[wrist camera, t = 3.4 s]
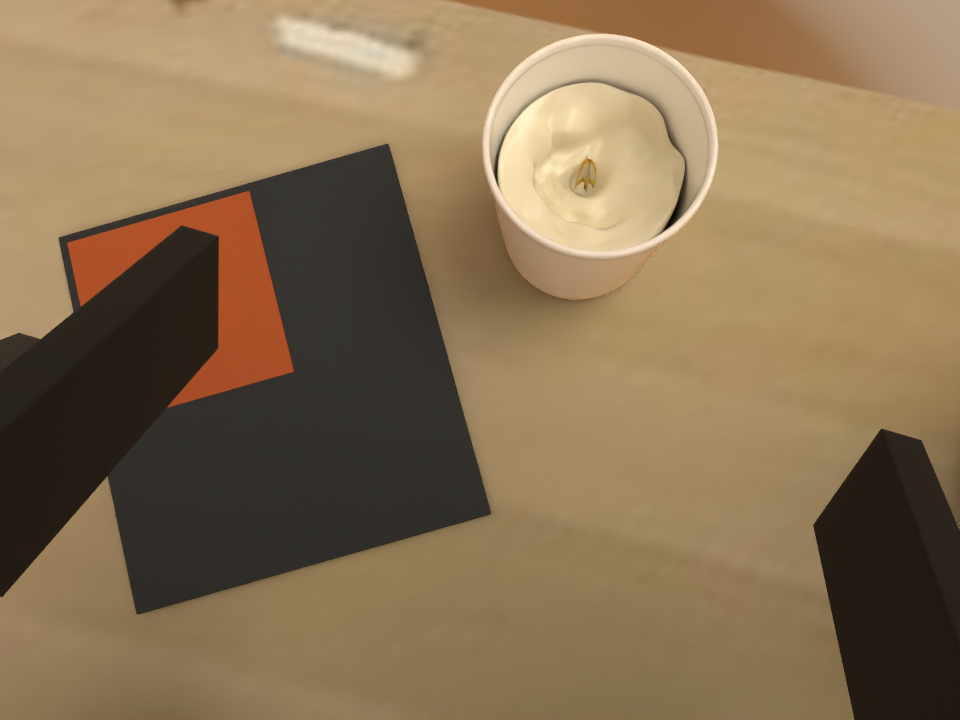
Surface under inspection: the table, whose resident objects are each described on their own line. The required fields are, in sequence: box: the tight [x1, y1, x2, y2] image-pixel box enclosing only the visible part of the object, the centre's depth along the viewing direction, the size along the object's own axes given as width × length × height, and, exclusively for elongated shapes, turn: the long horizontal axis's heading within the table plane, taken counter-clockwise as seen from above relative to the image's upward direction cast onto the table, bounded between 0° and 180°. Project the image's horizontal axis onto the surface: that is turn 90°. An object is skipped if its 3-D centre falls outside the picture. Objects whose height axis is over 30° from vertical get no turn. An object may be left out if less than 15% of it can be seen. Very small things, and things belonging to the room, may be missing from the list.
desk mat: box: [59, 144, 491, 614], centre depth 43 cm, size 20×22×1 cm
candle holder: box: [482, 34, 718, 300], centre depth 38 cm, size 10×10×12 cm
